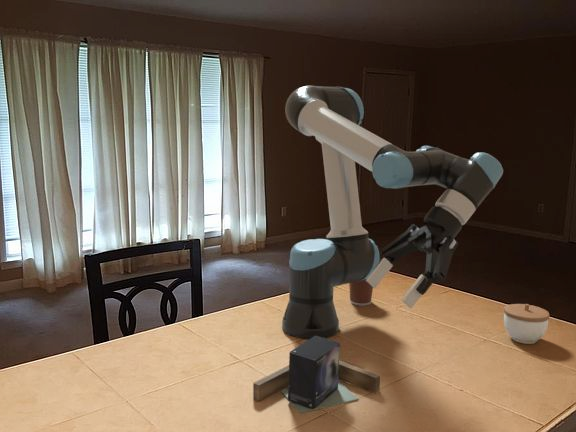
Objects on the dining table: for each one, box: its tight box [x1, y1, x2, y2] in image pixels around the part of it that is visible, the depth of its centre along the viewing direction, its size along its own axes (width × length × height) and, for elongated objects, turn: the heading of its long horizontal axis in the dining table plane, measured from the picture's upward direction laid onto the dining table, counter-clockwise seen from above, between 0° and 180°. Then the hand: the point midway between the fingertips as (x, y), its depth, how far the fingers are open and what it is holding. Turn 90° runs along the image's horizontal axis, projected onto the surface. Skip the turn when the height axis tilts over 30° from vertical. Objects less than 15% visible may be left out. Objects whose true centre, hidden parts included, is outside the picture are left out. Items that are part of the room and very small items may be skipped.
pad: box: [280, 380, 359, 414], centre depth 113 cm, size 9×13×1 cm
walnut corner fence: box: [252, 360, 381, 402], centre depth 113 cm, size 17×20×4 cm
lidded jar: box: [503, 303, 550, 345], centre depth 142 cm, size 11×11×9 cm
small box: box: [287, 336, 341, 409], centre depth 111 cm, size 11×6×10 cm, turn 148°
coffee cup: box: [348, 279, 374, 307], centre depth 168 cm, size 9×9×12 cm
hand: (387, 294), depth 115 cm, fingers open, 13 cm apart
